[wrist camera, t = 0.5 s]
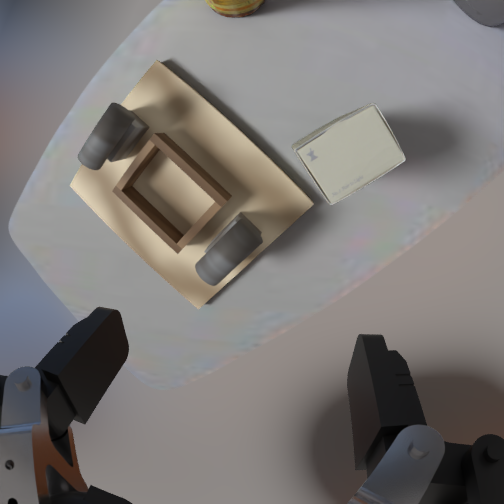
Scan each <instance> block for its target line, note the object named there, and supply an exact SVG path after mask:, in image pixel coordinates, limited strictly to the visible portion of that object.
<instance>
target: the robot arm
mask: <svg viewBox="0 0 504 504" xmlns="http://www.w3.org/2000/svg"><path fill="white" fill-rule="evenodd" d="M454 1H455V2H456V3H457V5H458V6H459V7H460V8H461V9H462V10H463V11H464V12H465V13H466V14H467V15H469V16H470V17H471V18H472V19H474V20H475V21H477V22H479V23H481V24H483V25H486V26H496V25H499V24H502V23H504V0H454ZM128 352H129V344H128V340H127V337H126V333H125V329H124V325H123V321H122V317H121V314H120V312H119V311H118V310H115V309H109V308H103V307H97V308H96V309H95V310H94V311H93V312H92V313H91V314H90V315H89V316H88V317H87V318H85V319H83V320H81V321H80V322H78V323H76V324H75V325H73V327H72V328H71V329H70V330H69V331H68V332H67V333H66V336H63V337H62V338H61V340H60V342H59V343H57V344H56V345H55V346H54V347H53V348H52V349H51V350H50V351H49V353H48V354H47V355H46V356H45V357H44V358H43V359H42V360H41V362H40V363H39V364H38V365H37V366H36V367H35V368H33V367H29V366H25V367H20V368H18V369H16V370H14V371H13V372H12V373H10V375H9V376H2V375H0V504H132V503H131V502H129V501H127V500H126V499H124V498H121V497H118V496H116V495H113V494H111V493H108V492H106V491H104V490H101V489H99V488H96V487H94V486H92V485H91V486H90V488H89V489H88V487H87V485H86V483H85V481H84V479H83V478H82V475H81V473H80V469H79V464H78V460H77V455H76V449H75V444H74V437H73V431H72V428H71V426H70V423H71V422H72V421H73V420H75V421H78V422H80V423H83V424H86V422H87V421H88V419H89V417H90V416H91V414H92V413H93V411H94V409H95V408H96V406H97V405H98V403H99V401H100V400H101V398H102V397H103V395H104V394H105V392H106V390H107V389H108V387H109V386H110V384H111V382H112V381H113V379H114V378H115V376H116V375H117V373H118V372H119V370H120V369H121V367H122V366H123V364H124V363H125V361H126V359H127V357H128ZM347 388H348V396H349V405H350V413H351V422H352V423H351V424H352V432H353V433H352V434H353V445H354V457H355V470H366V469H367V480H366V482H365V483H364V484H363V486H362V487H361V488H360V489H359V490H358V492H357V493H356V494H355V495H354V496H353V498H352V499H351V500H350V501H349V502H348V504H504V439H502V438H501V437H499V436H497V435H493V434H487V435H483V436H481V437H480V438H478V439H477V440H476V441H475V443H474V444H473V445H464V444H456V443H449V442H445V441H444V440H443V438H442V437H441V435H440V434H439V433H438V432H437V431H436V430H435V429H433V428H431V427H429V426H427V424H426V420H425V417H424V414H423V410H422V407H421V404H420V401H419V398H418V395H417V392H416V389H415V386H414V382H413V380H412V377H411V376H410V371H409V368H408V365H407V362H406V361H405V359H403V357H402V356H401V355H400V354H399V353H398V352H397V351H396V350H393V351H388V349H387V346H386V343H385V340H384V337H383V336H382V335H369V334H367V335H366V334H359V335H358V338H357V341H356V345H355V349H354V352H353V356H352V360H351V363H350V367H349V371H348V379H347Z"/></svg>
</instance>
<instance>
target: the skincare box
mask: <svg viewBox="0 0 504 504" xmlns="http://www.w3.org/2000/svg"><path fill="white" fill-rule="evenodd" d="M292 148H293V150H294V151H295V153H296V155H297V156H298V158H299V160H300V161H301V163H302V164H303V166H304V167H305V169H306V171H307V172H308V174H309V175H310V177H311V178H312V180H313V181H314V183H315V184H316V186H317V187H318V189H319V190H320V192H321V193H322V195H323V196H324V198H325V199H326V201H327V202H328V203H329V204H330V205H333V204H335V203H337V202H339V201H341V200H343V199H345V198H347V197H348V196H350V195H352V194H353V193H355V192H357V191H358V190H360V189H362V188H364V187H365V186H367V185H369V184H370V183H372V182H373V181H375V180H377V179H378V178H380V177H381V176H383V175H385V174H386V173H388V172H389V171H391V170H392V169H394V168H395V167H397V166H399V165H400V164H402V163H403V162H405V161H406V158H405V156H404V154H403V152H402V150H401V148H400V145H399V143H398V142H397V140H396V138H395V136H394V134H393V132H392V130H391V128H390V127H389V125H388V123H387V121H386V119H385V118H384V116H383V114H382V113H381V111H380V109H379V108H378V106H377V105H376V104H374V103H371V104H369V105H366V106H364V107H362V108H359V109H357V110H355V111H352V112H350V113H348V114H345V115H343V116H341V117H339V118H337V119H335V120H333V121H331V122H330V123H328V124H326V125H324V126H322V127H321V128H319V129H317V130H316V131H314V132H312V133H311V134H309V135H307V136H306V137H304V138H302V139H301V140H299V141H298V142H296V143H295V144H293V145H292Z"/></svg>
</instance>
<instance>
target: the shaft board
mask: <svg viewBox="0 0 504 504" xmlns="http://www.w3.org/2000/svg"><path fill="white" fill-rule="evenodd" d="M78 159H79V161H80V162H81V163H82V165H81V167H80V168H79V170H78V172H77V173H76V175H75V177H74V179H73V181H72V182H71V184H70V186H71V188H72V189H73V190H74V191H75V192H76V193H77V194H78V195H79V196H80V197H81V198H82V199H83V200H84V201H85V202H86V203H87V205H88V206H89V207H90V208H91V209H92V210H93V211H94V212H95V213H96V214H97V215H98V216H99V217H100V218H101V219H102V220H103V221H104V222H105V223H106V224H107V225H108V226H109V227H110V228H111V229H112V230H113V231H114V232H115V233H116V234H117V235H118V236H119V237H120V238H121V239H122V240H123V241H124V242H125V243H126V244H127V245H128V246H129V247H130V248H131V249H133V250H134V251H135V252H136V253H137V254H138V255H139V256H140V257H141V258H142V259H143V260H144V261H145V262H146V263H147V264H148V265H149V266H151V267H152V268H153V269H154V270H155V271H156V272H157V273H158V274H159V275H160V276H161V277H162V278H164V279H165V280H166V281H167V282H168V283H169V284H170V285H171V286H172V287H174V288H175V289H176V290H177V291H178V292H179V293H180V294H181V295H183V296H184V297H185V298H186V299H187V300H188V301H189V302H191V303H192V304H193V305H194V306H195V307H196V308H198V309H199V308H201V307H202V306H203V305H204V304H205V303H206V302H207V301H208V300H209V299H211V298H212V297H213V296H214V295H215V294H216V293H217V292H218V291H219V290H220V289H222V288H223V287H224V286H225V285H226V284H227V283H228V282H229V281H230V280H231V279H233V278H234V277H235V276H236V275H237V274H238V273H239V272H240V271H241V270H242V269H244V268H245V267H246V266H247V265H248V264H249V263H250V262H251V261H252V260H253V259H255V258H256V257H257V256H258V255H259V254H260V253H261V252H262V251H263V250H264V249H265V248H267V247H268V246H269V245H270V244H271V243H272V242H273V241H274V240H275V239H276V238H278V237H279V236H280V235H281V234H282V233H283V232H284V231H285V230H286V229H287V228H288V227H290V226H291V225H292V224H293V223H294V222H295V221H296V220H297V219H298V218H299V217H300V216H302V215H303V214H304V213H305V212H306V211H307V210H308V209H309V208H310V207H311V206H312V205H314V203H313V201H312V200H311V199H310V198H309V197H308V196H307V195H306V194H305V193H304V192H303V190H302V189H301V188H300V187H299V186H298V185H297V184H296V183H295V182H294V181H293V180H292V179H291V178H290V177H289V176H288V175H287V174H286V173H285V172H284V171H283V170H282V169H281V168H280V167H279V166H278V165H277V164H276V163H275V162H274V161H273V160H271V159H270V158H269V157H268V156H267V155H266V154H265V153H264V152H263V151H262V150H261V149H260V148H259V147H258V146H257V145H256V144H255V143H254V142H253V141H252V140H251V139H249V138H248V137H247V136H246V135H245V134H244V133H243V132H242V131H241V130H240V129H239V128H238V127H237V126H235V125H234V124H233V123H232V122H231V121H230V120H229V119H228V118H227V117H225V116H224V115H223V114H222V113H221V112H220V111H219V110H218V109H216V108H215V107H214V106H213V105H212V104H211V103H210V102H208V101H207V100H206V99H205V98H204V97H203V96H202V95H200V94H199V93H198V92H197V91H196V90H195V89H193V88H192V87H191V86H190V85H189V84H187V83H186V82H185V81H184V80H183V79H181V78H180V77H179V76H178V75H177V74H175V73H174V72H173V71H172V70H170V69H169V68H168V67H167V66H165V65H164V64H163V63H162V62H160V61H158V60H156V62H155V63H154V64H153V65H152V66H151V67H150V69H149V70H148V71H147V72H146V73H145V75H144V76H143V77H142V78H141V79H140V81H139V82H138V83H137V84H136V86H135V87H134V88H133V90H132V91H131V92H130V93H129V95H128V96H127V97H126V99H125V100H124V101H123V103H122V104H121V105H120V104H117V103H111V105H110V106H109V107H108V109H107V110H106V112H105V113H104V115H103V116H102V118H101V119H100V121H99V122H98V124H97V125H96V127H95V128H94V130H93V131H92V133H91V134H90V136H89V138H88V139H87V141H86V142H85V144H84V146H83V147H82V149H81V151H80V152H79V154H78Z"/></svg>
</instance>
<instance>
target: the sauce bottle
mask: <svg viewBox="0 0 504 504" xmlns="http://www.w3.org/2000/svg"><path fill="white" fill-rule="evenodd" d="M206 2H207V4H208V5H209V6H210V7H211V8H212V9H213V10H214V11H215V12H217V13H218V14H220V15H222V16H225V17H244V16H246V15H250V14H251V13H253V12H255V11H256V10H257V9H258V8H260V6H261V5H262V4H263V3H264V2H265V0H206Z"/></svg>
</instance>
